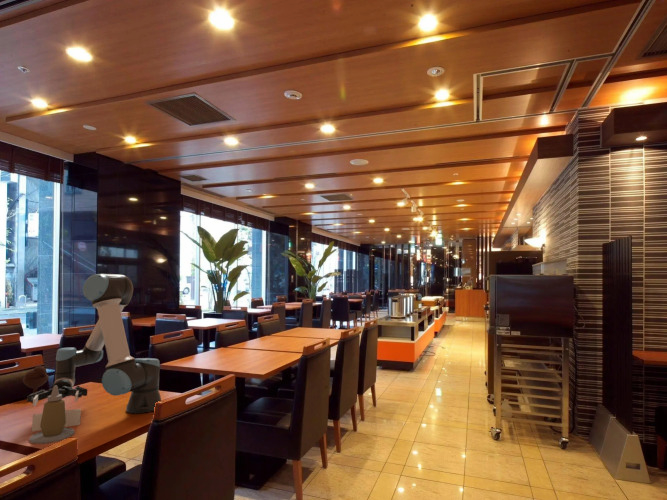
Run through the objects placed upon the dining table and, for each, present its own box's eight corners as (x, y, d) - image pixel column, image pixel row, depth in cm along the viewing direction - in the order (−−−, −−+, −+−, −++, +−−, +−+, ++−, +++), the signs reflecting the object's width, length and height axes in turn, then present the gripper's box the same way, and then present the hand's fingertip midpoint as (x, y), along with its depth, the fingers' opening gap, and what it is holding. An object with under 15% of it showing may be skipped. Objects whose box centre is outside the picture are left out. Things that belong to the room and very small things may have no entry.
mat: (82, 433, 156) (82, 430, 156) (44, 446, 143) (44, 443, 143) (59, 427, 161) (59, 425, 161) (21, 439, 149) (21, 437, 149)
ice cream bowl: (43, 391, 215) (45, 363, 216) (50, 395, 208) (52, 366, 209) (19, 396, 207) (21, 366, 208) (25, 400, 200) (27, 369, 201)
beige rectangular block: (80, 423, 166) (80, 408, 167) (79, 424, 164) (80, 409, 165) (32, 429, 159) (33, 414, 159) (31, 431, 157) (32, 415, 158)
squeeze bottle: (43, 439, 147) (47, 389, 148) (36, 434, 151) (39, 386, 153) (68, 433, 153) (71, 385, 155) (60, 428, 158) (63, 382, 159)
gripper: (94, 393, 179) (92, 405, 161) (25, 400, 167) (14, 415, 149) (95, 376, 180) (93, 386, 161) (27, 382, 168) (16, 394, 149)
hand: (55, 400), depth 155 cm, fingers open, 13 cm apart
